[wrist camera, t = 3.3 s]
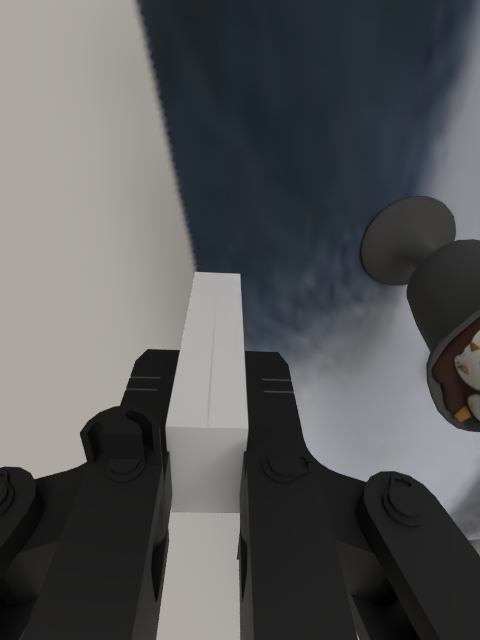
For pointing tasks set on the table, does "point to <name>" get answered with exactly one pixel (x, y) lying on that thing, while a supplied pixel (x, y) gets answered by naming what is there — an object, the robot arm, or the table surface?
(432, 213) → the sundae
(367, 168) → the table surface
